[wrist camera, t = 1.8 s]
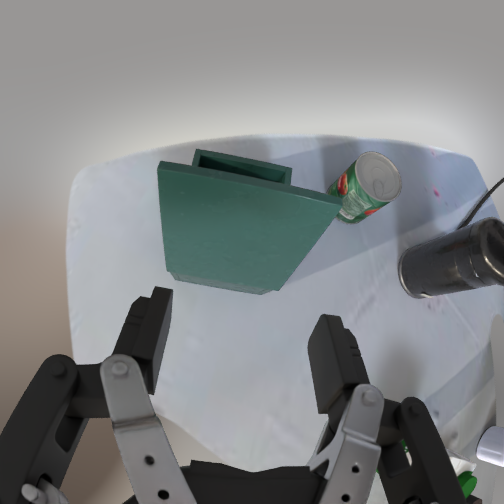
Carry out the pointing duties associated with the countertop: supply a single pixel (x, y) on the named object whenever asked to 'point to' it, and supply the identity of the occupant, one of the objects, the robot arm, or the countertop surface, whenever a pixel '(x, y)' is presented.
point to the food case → (242, 168)
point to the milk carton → (457, 469)
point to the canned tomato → (366, 187)
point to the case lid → (238, 225)
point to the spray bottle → (492, 446)
